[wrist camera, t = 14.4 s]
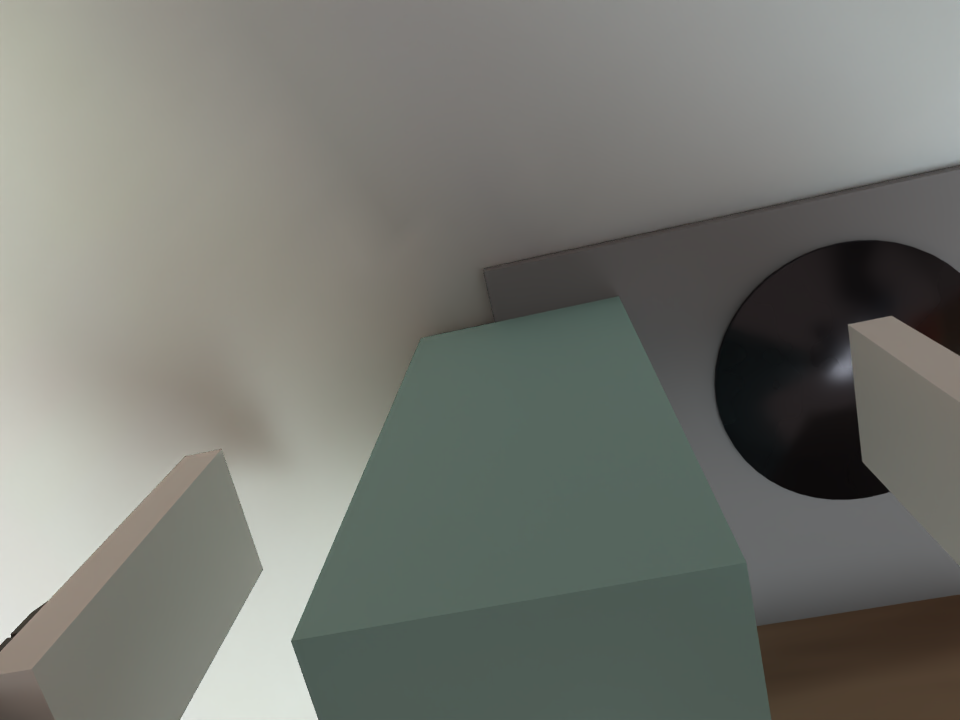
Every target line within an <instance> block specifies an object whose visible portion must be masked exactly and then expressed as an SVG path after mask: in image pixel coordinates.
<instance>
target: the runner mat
mask: <svg viewBox="0 0 960 720" xmlns="http://www.w3.org/2000/svg"><path fill="white" fill-rule="evenodd" d="M856 240H880V241H889V242H896V243H900V244H904V245H908V246H912V247H915V248H917V249H920V250H922V251H925V252H927V253H930V254H932V255H934V256H936V257H938V258H939V259H941V260H943V261H944V262H946V263H948V264H949V265H951V266H952V267H953V268H954V269H956V270H957V271H958V272H959V273H960V166H956V167H951V168H947V169H942V170H937V171H933V172H928V173H923V174H919V175H914V176H910V177H905V178H900V179H896V180H891V181H887V182H882V183H877V184H873V185H868V186H863V187H859V188H854V189H850V190H845V191H840V192H836V193H831V194H827V195H822V196H817V197H813V198H808V199H803V200H799V201H794V202H790V203H785V204H780V205H776V206H771V207H767V208H762V209H757V210H753V211H748V212H744V213H739V214H734V215H730V216H725V217H720V218H716V219H711V220H707V221H702V222H697V223H693V224H688V225H684V226H679V227H674V228H670V229H665V230H660V231H656V232H651V233H647V234H642V235H637V236H633V237H628V238H624V239H619V240H614V241H610V242H605V243H600V244H596V245H591V246H587V247H582V248H577V249H573V250H568V251H564V252H559V253H554V254H550V255H545V256H540V257H536V258H531V259H527V260H522V261H517V262H513V263H508V264H504V265H499V266H494V267H490V268H485V269H484V277H485V281H486V285H487V290H488V294H489V298H490V303H491V307H492V311H493V316H494V320H495V322H499V321H504V320H509V319H514V318H518V317H523V316H528V315H532V314H537V313H542V312H546V311H551V310H556V309H561V308H565V307H570V306H575V305H579V304H584V303H589V302H593V301H598V300H603V299H608V298H612V297H617V296H619V298H620V300H621V302H622V304H623V306H624V308H625V310H626V312H627V314H628V317H629V319H630V321H631V323H632V325H633V327H634V329H635V331H636V333H637V335H638V337H639V339H640V342H641V344H642V346H643V348H644V350H645V352H646V354H647V356H648V358H649V360H650V362H651V364H652V367H653V369H654V371H655V373H656V375H657V377H658V379H659V381H660V383H661V385H662V387H663V389H664V392H665V394H666V396H667V398H668V400H669V402H670V404H671V406H672V408H673V410H674V412H675V414H676V417H677V419H678V421H679V423H680V425H681V427H682V429H683V431H684V433H685V435H686V437H687V440H688V442H689V444H690V446H691V448H692V450H693V452H694V454H695V456H696V458H697V460H698V462H699V465H700V467H701V469H702V471H703V473H704V475H705V477H706V479H707V481H708V483H709V485H710V487H711V490H712V492H713V494H714V496H715V498H716V500H717V502H718V504H719V506H720V508H721V510H722V512H723V515H724V517H725V519H726V521H727V523H728V525H729V527H730V529H731V531H732V533H733V535H734V537H735V540H736V542H737V544H738V546H739V548H740V550H741V552H742V554H743V556H744V558H745V560H746V563H747V569H748V575H749V582H750V588H751V594H752V600H753V607H754V613H755V619H756V626H761V625H767V624H774V623H780V622H786V621H793V620H799V619H806V618H812V617H818V616H825V615H831V614H838V613H844V612H850V611H857V610H863V609H870V608H876V607H882V606H889V605H895V604H902V603H908V602H914V601H921V600H927V599H934V598H940V597H946V596H953V595H959V594H960V566H959V565H958V564H957V563H956V562H955V561H954V560H953V559H952V557H951V556H950V555H949V554H948V553H947V552H946V551H945V550H944V549H943V548H942V547H941V546H940V545H939V543H938V542H937V541H936V540H935V539H934V538H933V537H932V536H931V535H930V534H929V533H928V532H927V531H926V530H925V528H924V527H923V526H922V525H921V524H920V523H919V522H918V521H917V520H916V519H915V518H914V517H913V516H912V515H911V513H910V512H909V511H908V510H907V509H906V508H905V507H904V506H903V505H902V504H901V503H900V502H899V501H898V499H897V498H896V497H895V496H894V495H893V494H892V493H891V492H888V493H885V494H881V495H877V496H873V497H868V498H861V499H852V500H829V499H821V498H814V497H810V496H805V495H801V494H798V493H795V492H793V491H790V490H787V489H785V488H782V487H781V486H779V485H777V484H775V483H773V482H771V481H769V480H768V479H767V478H765V477H764V476H762V475H761V474H760V473H758V472H757V471H756V470H755V469H754V468H753V467H752V466H750V465H749V464H748V463H747V462H746V461H745V460H744V458H743V457H742V456H741V455H740V453H739V452H738V451H737V449H736V448H735V447H734V445H733V443H732V442H731V440H730V438H729V436H728V434H727V433H726V431H725V429H724V426H723V424H722V421H721V418H720V416H719V412H718V407H717V403H716V396H715V368H716V362H717V357H718V352H719V349H720V346H721V343H722V340H723V337H724V334H725V332H726V330H727V328H728V326H729V324H730V322H731V320H732V318H733V317H734V315H735V314H736V312H737V311H738V309H739V308H740V306H741V305H742V303H743V302H744V301H745V300H746V298H747V297H748V296H749V295H750V294H751V293H752V291H753V290H754V289H755V288H756V287H757V286H758V285H759V284H761V283H762V282H763V281H764V280H765V279H766V278H767V277H768V276H769V275H771V274H772V273H774V272H775V271H776V270H778V269H779V268H781V267H782V266H783V265H785V264H787V263H789V262H790V261H792V260H794V259H796V258H798V257H799V256H801V255H804V254H806V253H809V252H811V251H814V250H816V249H818V248H822V247H826V246H829V245H833V244H837V243H842V242H849V241H856Z"/></svg>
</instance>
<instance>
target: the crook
mask: <svg viewBox="0 0 960 720" xmlns="http://www.w3.org/2000/svg"><path fill="white" fill-rule="evenodd" d="M291 642H292V645H293V648H294V651H295V654H296V656H297V659H298V662H299V665H300V668H301V671H302V674H303V677H304V679H305V682H306V685H307V688H308V691H309V694H310V697H311V700H312V702H313V705H314V708H315V711H316V714H317V717H318V720H771V714H770V708H769V701H768V695H767V689H766V683H765V676H764V670H763V664H762V657H761V651H760V645H759V638H758V632H757V626H756V619H755V613H754V607H753V600H752V594H751V588H750V582H749V575H748V569H747V563H746V560H745V558H744V556H743V554H742V552H741V550H740V548H739V546H738V544H737V542H736V540H735V537H734V535H733V533H732V531H731V529H730V527H729V525H728V523H727V521H726V519H725V517H724V515H723V512H722V510H721V508H720V506H719V504H718V502H717V500H716V498H715V496H714V494H713V492H712V490H711V487H710V485H709V483H708V481H707V479H706V477H705V475H704V473H703V471H702V469H701V467H700V465H699V462H698V460H697V458H696V456H695V454H694V452H693V450H692V448H691V446H690V444H689V442H688V440H687V437H686V435H685V433H684V431H683V429H682V427H681V425H680V423H679V421H678V419H677V417H676V414H675V412H674V410H673V408H672V406H671V404H670V402H669V400H668V398H667V396H666V394H665V392H664V389H663V387H662V385H661V383H660V381H659V379H658V377H657V375H656V373H655V371H654V369H653V367H652V364H651V362H650V360H649V358H648V356H647V354H646V352H645V350H644V348H643V346H642V344H641V342H640V339H639V337H638V335H637V333H636V331H635V329H634V327H633V325H632V323H631V321H630V319H629V317H628V314H627V312H626V310H625V308H624V306H623V304H622V302H621V300H620V298H619V296H617V297H612V298H608V299H603V300H598V301H593V302H589V303H584V304H579V305H575V306H570V307H565V308H561V309H556V310H551V311H546V312H542V313H537V314H532V315H528V316H523V317H518V318H514V319H509V320H504V321H499V322H495V323H490V324H485V325H481V326H476V327H471V328H467V329H462V330H457V331H452V332H448V333H443V334H438V335H434V336H429V337H424V338H421V339H420V342H419V344H418V346H417V349H416V351H415V353H414V356H413V358H412V360H411V363H410V365H409V367H408V370H407V372H406V374H405V377H404V379H403V381H402V384H401V386H400V388H399V391H398V393H397V395H396V398H395V400H394V402H393V405H392V407H391V409H390V412H389V414H388V416H387V419H386V421H385V423H384V426H383V428H382V430H381V433H380V435H379V437H378V440H377V442H376V444H375V447H374V449H373V451H372V454H371V456H370V458H369V461H368V463H367V465H366V468H365V470H364V472H363V475H362V477H361V479H360V482H359V484H358V486H357V489H356V491H355V493H354V496H353V498H352V500H351V503H350V505H349V507H348V510H347V512H346V514H345V517H344V519H343V521H342V524H341V526H340V528H339V531H338V533H337V535H336V538H335V540H334V542H333V545H332V547H331V549H330V552H329V554H328V556H327V559H326V561H325V563H324V566H323V568H322V570H321V573H320V575H319V577H318V580H317V582H316V584H315V587H314V589H313V591H312V594H311V596H310V598H309V601H308V603H307V605H306V608H305V610H304V612H303V615H302V617H301V619H300V622H299V624H298V626H297V629H296V631H295V633H294V636H293V638H292V640H291Z"/></svg>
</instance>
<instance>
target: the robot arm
mask: <svg viewBox="0 0 960 720" xmlns="http://www.w3.org/2000/svg"><path fill="white" fill-rule="evenodd" d="M848 330H849V340H850V349H851V359H852V368H853V378H854V387H855V397H856V407H857V416H858V426H859V435H860V445H861V454H862V462H863V463H864V464H865V465H866V466H867V467H868V468H869V469H870V470H871V472H872V473H873V474H874V475H875V476H876V477H877V478H878V479H879V480H880V481H881V482H882V483H883V484H884V486H885V487H886V488H887V489H888V490H889V491H890V492H891V493H892V494H893V495H894V496H895V497H896V498H897V499H898V501H899V502H900V503H901V504H902V505H903V506H904V507H905V508H906V509H907V510H908V511H909V512H910V513H911V515H912V516H913V517H914V518H915V519H916V520H917V521H918V522H919V523H920V524H921V525H922V526H923V527H924V528H925V530H926V531H927V532H928V533H929V534H930V535H931V536H932V537H933V538H934V539H935V540H936V541H937V542H938V543H939V545H940V546H941V547H942V548H943V549H944V550H945V551H946V552H947V553H948V554H949V555H950V556H951V557H952V559H953V560H954V561H955V562H956V563H957V564H958V565H959V566H960V356H959V355H957V354H955V353H954V352H952V351H950V350H949V349H947V348H945V347H944V346H942V345H940V344H939V343H937V342H935V341H933V340H932V339H930V338H928V337H927V336H925V335H923V334H922V333H920V332H918V331H917V330H915V329H913V328H911V327H910V326H908V325H906V324H905V323H903V322H901V321H900V320H898V319H896V318H895V317H893V316H888V317H883V318H878V319H873V320H868V321H863V322H858V323H853V324H848ZM262 571H263V568H262V565H261V562H260V559H259V556H258V553H257V551H256V548H255V545H254V542H253V539H252V536H251V533H250V530H249V527H248V524H247V521H246V519H245V516H244V513H243V510H242V507H241V504H240V501H239V498H238V495H237V492H236V490H235V487H234V484H233V481H232V478H231V475H230V472H229V469H228V466H227V463H226V460H225V458H224V455H223V452H222V449H219V450H214V451H209V452H204V453H199V454H194V455H189V456H185V457H184V458H183V459H182V460H181V461H180V462H179V463H178V464H177V465H176V466H175V468H174V469H173V470H172V471H171V472H170V473H169V474H168V475H167V476H166V477H165V478H164V479H163V480H162V481H161V482H160V483H159V484H158V485H157V487H156V488H155V489H154V490H153V491H152V492H151V493H150V494H149V495H148V496H147V497H146V498H145V499H144V500H143V501H142V502H141V503H140V505H139V506H138V507H137V508H136V509H135V510H134V511H133V512H132V513H131V514H130V515H129V516H128V517H127V518H126V519H125V520H124V521H123V522H122V524H121V525H120V526H119V527H118V528H117V529H116V530H115V531H114V532H113V533H112V534H111V535H110V536H109V537H108V538H107V539H106V540H105V541H104V543H103V544H102V545H101V546H100V547H99V548H98V549H97V550H96V551H95V552H94V553H93V554H92V555H91V556H90V557H89V558H88V559H87V560H86V562H85V563H84V564H83V565H82V566H81V567H80V568H79V569H78V570H77V571H76V572H75V573H74V574H73V575H72V576H71V577H70V578H69V580H68V581H67V582H66V583H65V584H64V585H63V586H62V587H61V588H60V589H59V590H58V591H57V592H56V593H55V594H54V595H53V596H52V597H51V599H50V600H49V601H47V602H46V603H44V604H43V605H42V606H40V607H39V608H37V609H36V610H34V611H33V612H32V613H31V614H30V615H29V616H28V617H27V618H26V619H25V620H24V621H23V622H22V623H21V624H20V625H19V626H18V627H17V628H16V629H15V630H14V631H13V632H12V633H11V638H7V639H6V640H5V641H4V642H3V643H2V644H1V645H0V720H180V719H181V717H182V715H183V713H184V711H185V710H186V708H187V706H188V704H189V702H190V701H191V699H192V697H193V695H194V693H195V692H196V690H197V688H198V686H199V684H200V683H201V681H202V679H203V677H204V675H205V673H206V672H207V670H208V668H209V666H210V664H211V663H212V661H213V659H214V657H215V655H216V654H217V652H218V650H219V648H220V646H221V645H222V643H223V641H224V639H225V637H226V636H227V634H228V632H229V630H230V628H231V627H232V625H233V623H234V621H235V619H236V617H237V616H238V614H239V612H240V610H241V608H242V607H243V605H244V603H245V601H246V599H247V598H248V596H249V594H250V592H251V590H252V589H253V587H254V585H255V583H256V581H257V580H258V578H259V576H260V574H261V572H262Z"/></svg>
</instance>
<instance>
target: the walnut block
mask: <svg viewBox="0 0 960 720" xmlns="http://www.w3.org/2000/svg"><path fill="white" fill-rule="evenodd" d="M757 632H758V638H759V645H760V651H761V657H762V664H763V670H764V676H765V683H766V689H767V695H768V701H769V708H770V714H771V720H960V594H959V595H953V596H946V597H940V598H934V599H927V600H921V601H914V602H908V603H902V604H895V605H889V606H882V607H876V608H870V609H863V610H857V611H850V612H844V613H838V614H831V615H825V616H818V617H812V618H806V619H799V620H793V621H786V622H780V623H774V624H767V625H761V626H757Z"/></svg>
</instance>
